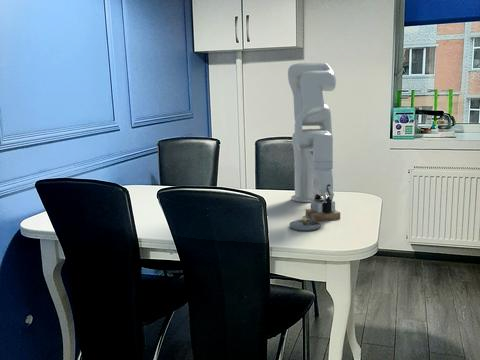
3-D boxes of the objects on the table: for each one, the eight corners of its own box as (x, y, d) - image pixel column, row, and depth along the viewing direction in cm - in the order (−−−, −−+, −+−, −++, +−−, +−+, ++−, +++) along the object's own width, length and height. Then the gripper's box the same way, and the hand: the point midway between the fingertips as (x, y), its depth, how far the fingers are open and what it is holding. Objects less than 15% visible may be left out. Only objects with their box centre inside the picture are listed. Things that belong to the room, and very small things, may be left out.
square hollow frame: (310, 209, 190) (310, 199, 189) (326, 207, 191) (326, 198, 191) (318, 213, 183) (318, 203, 182) (335, 211, 185) (335, 201, 184)
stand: (305, 215, 191) (305, 205, 190) (328, 212, 194) (328, 203, 193) (316, 221, 182) (316, 211, 181) (340, 218, 184) (340, 208, 184)
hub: (285, 224, 179) (284, 214, 178) (312, 221, 182) (312, 211, 181) (296, 233, 168) (296, 221, 168) (325, 229, 171) (325, 218, 171)
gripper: (304, 162, 191) (304, 206, 194) (323, 169, 175) (323, 216, 178) (321, 161, 193) (321, 204, 196) (342, 167, 177) (342, 214, 180)
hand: (322, 209), depth 187 cm, fingers open, 7 cm apart
